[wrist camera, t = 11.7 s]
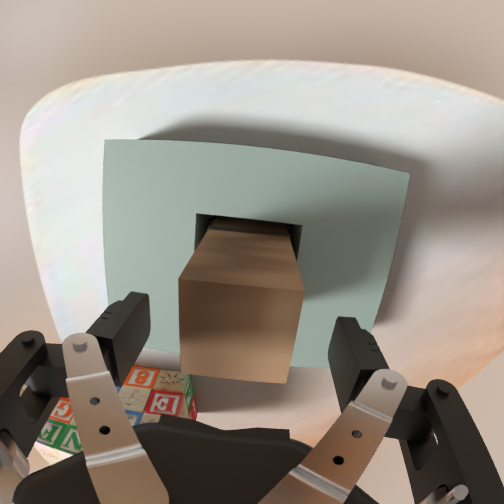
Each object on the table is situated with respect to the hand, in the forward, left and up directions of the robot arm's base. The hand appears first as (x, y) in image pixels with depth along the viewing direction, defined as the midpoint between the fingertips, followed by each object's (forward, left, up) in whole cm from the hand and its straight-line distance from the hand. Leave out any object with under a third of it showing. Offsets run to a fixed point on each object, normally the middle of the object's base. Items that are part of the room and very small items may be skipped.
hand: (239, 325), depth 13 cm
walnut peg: (0, 0, -11) cm, 11 cm away
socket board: (0, 0, -11) cm, 11 cm away
